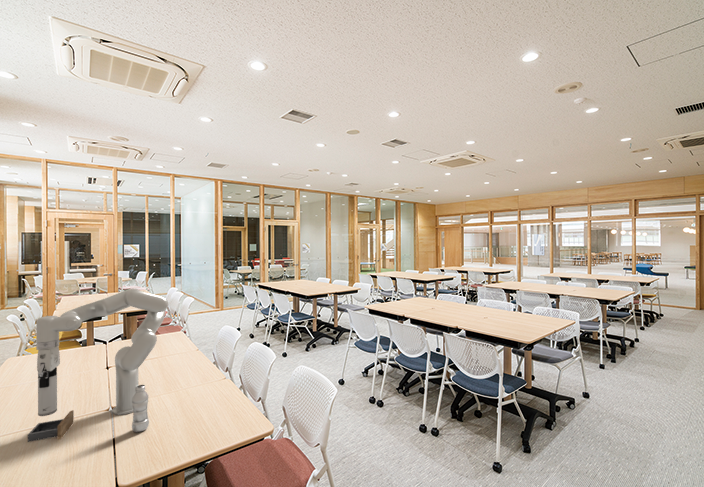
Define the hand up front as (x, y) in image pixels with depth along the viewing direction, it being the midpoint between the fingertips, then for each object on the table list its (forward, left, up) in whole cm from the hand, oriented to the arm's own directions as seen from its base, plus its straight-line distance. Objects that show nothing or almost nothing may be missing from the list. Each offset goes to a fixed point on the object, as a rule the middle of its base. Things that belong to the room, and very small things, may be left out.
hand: (48, 383), depth 147 cm
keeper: (0, 0, -22) cm, 22 cm away
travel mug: (0, 0, -13) cm, 13 cm away
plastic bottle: (-38, +13, -23) cm, 46 cm away
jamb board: (-7, +1, -22) cm, 23 cm away
